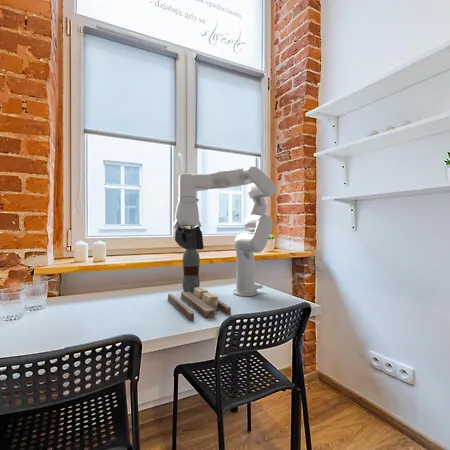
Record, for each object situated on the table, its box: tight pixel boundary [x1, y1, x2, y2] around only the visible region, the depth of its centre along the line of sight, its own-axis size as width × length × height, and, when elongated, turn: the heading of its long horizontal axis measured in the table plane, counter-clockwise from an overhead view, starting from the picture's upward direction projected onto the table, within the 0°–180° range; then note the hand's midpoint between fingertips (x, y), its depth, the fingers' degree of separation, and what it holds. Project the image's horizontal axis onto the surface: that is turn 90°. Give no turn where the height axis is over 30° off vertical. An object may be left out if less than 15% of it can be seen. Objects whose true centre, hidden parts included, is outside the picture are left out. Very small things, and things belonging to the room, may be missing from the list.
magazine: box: [174, 225, 205, 251], centre depth 134 cm, size 17×3×30 cm
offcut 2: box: [202, 291, 219, 311], centre depth 131 cm, size 4×8×6 cm, turn 26°
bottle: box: [182, 249, 201, 294], centre depth 161 cm, size 9×9×30 cm
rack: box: [167, 291, 232, 322], centre depth 133 cm, size 18×32×3 cm, turn 26°
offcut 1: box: [193, 286, 209, 300], centre depth 141 cm, size 4×8×6 cm, turn 26°
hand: (187, 241), depth 135 cm, fingers closed on magazine, 3 cm apart
